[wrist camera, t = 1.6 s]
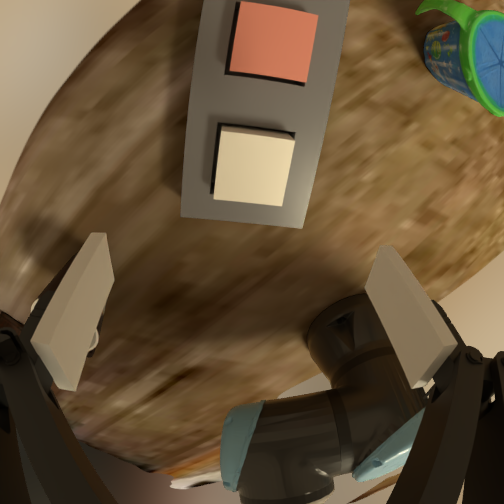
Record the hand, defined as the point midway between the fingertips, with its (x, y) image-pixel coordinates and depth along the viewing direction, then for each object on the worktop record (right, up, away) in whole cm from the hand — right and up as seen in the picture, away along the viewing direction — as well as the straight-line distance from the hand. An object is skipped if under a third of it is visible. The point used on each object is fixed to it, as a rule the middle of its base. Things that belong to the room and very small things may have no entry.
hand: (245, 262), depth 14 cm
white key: (0, +9, +14) cm, 17 cm away
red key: (+2, +18, +8) cm, 20 cm away
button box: (+1, +15, +13) cm, 20 cm away
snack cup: (+22, +23, +10) cm, 33 cm away
